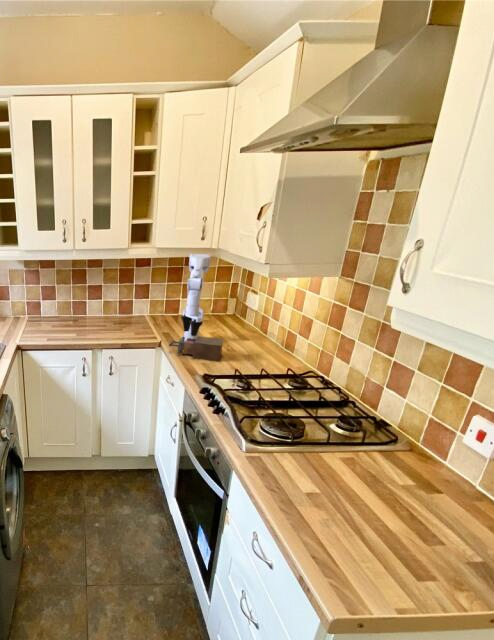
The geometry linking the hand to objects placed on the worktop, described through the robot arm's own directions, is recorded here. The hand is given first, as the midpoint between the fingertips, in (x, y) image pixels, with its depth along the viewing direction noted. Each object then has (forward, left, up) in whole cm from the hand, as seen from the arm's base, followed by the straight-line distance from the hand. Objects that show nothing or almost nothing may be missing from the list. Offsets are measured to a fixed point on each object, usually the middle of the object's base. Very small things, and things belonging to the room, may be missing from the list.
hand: (189, 333), depth 192 cm
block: (0, 0, -8) cm, 8 cm away
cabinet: (0, +9, -10) cm, 14 cm away
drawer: (0, -1, -9) cm, 9 cm away
